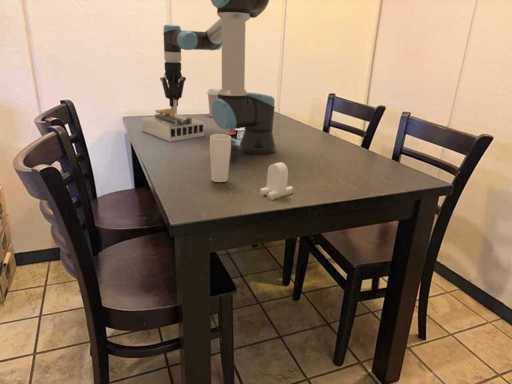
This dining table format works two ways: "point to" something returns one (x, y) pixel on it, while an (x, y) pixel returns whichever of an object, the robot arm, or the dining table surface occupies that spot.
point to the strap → (171, 118)
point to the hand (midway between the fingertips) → (174, 113)
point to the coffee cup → (212, 98)
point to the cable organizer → (277, 180)
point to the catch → (166, 112)
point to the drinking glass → (220, 156)
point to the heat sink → (173, 128)
